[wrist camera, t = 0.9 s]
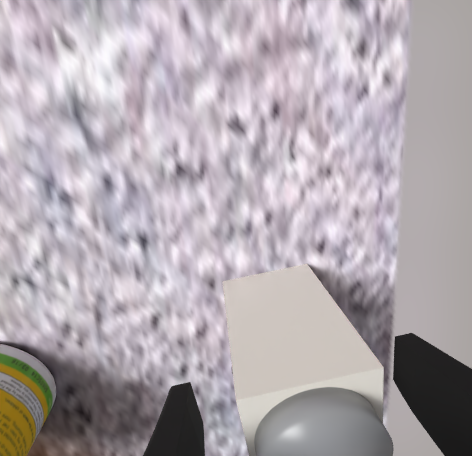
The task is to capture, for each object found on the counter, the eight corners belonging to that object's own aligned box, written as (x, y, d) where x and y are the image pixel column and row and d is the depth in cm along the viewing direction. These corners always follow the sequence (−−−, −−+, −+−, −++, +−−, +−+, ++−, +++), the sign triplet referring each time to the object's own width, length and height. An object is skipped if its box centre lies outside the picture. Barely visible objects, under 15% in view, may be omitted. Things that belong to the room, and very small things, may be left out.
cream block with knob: (313, 331, 15) (398, 492, 8) (237, 348, 14) (263, 525, 8) (307, 263, 13) (403, 394, 7) (222, 281, 13) (239, 431, 7)
